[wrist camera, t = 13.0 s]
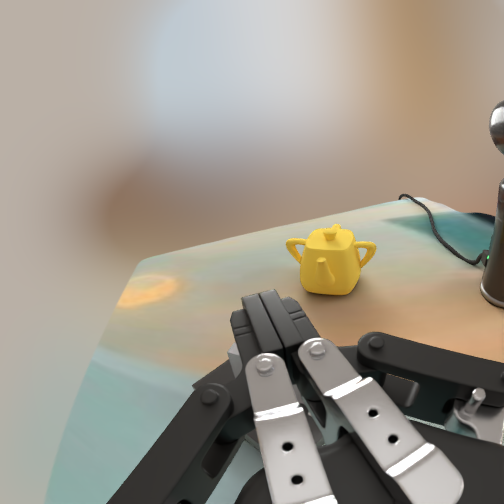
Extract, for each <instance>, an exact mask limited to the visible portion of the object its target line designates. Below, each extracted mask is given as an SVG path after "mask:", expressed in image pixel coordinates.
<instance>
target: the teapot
mask: <svg viewBox="0 0 504 504" xmlns="http://www.w3.org/2000/svg"><path fill="white" fill-rule="evenodd" d="M296 244H300V245H305V247H304V250H303V254H302V257H301V255H300V254H299V253H298V251H297V249H296V247H295V245H296ZM286 247H287V249H288V251H289V252H290V254H291V255H292V256H293V257H294V258H295V259H296V260H297V261H298V262H299V263H300V264H301V266H300V281H301V284H302V286H303V287H304V288H305V290H306V291H308V292H313V293H320V294H330V295H346V294H348V293H350V292H351V291H352V289H353V288H354V287H355V285H356V283H357V281H358V279H359V276H360V272H361V268H362V267H363V266H364V265H365V264H366V263H367V262H368V261H369V260H370V259H371V258H372V257H373V256H374V254H375V252H376V245H375V244H374V243H372V242H356V240H355V237H354V235H353V232H352V231H350V230H346V229H341V226H340V225H339V224H335V225H333V227H332V228H326V229H316V230H314V231H313V232H312V233H311V234H310V236H309V237H308V239H307V240H306V239H298V238H291V239H289V240H287V242H286ZM358 248H366V249H367V253H366V255H365V256H364V258H363V259H362V261H361V262H360V255H359V250H358Z"/></svg>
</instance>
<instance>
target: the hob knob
mask: <svg viewBox="0 0 504 504" xmlns="http://www.w3.org/2000/svg"><path fill="white" fill-rule="evenodd" d="M227 354H228V357H229V360H230V363H231V367H232V370H233V373H234V376H235V378H236V377H237V376H238V375H239V374H240V372H241V370H242V362H241V359H240V355H239V352H238V349H237V345H236V343H235V342H234V343H233V345H232V346H231V348H230V349H229V350H228V352H227ZM292 386H293V389H294V392H295V395H296V398H297V401H298V403H302V404H304V402H303V401H302V399H301V394H300V392H299V390H298V388H297V385H296V384H295V385H292Z"/></svg>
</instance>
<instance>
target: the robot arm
mask: <svg viewBox="0 0 504 504" xmlns="http://www.w3.org/2000/svg"><path fill="white" fill-rule="evenodd" d="M489 129H490V135H491V137H492V140H493V142H494V144H495V146H496V147H497V148H498V150H499V151H500V152H501V153H502V154H504V101H501V102H500V103H498V104H497V105H496V106H495V108H494V109H493V111H492V113H491V116H490V121H489ZM403 196H405V197H408V198H409V199H411V200H412V201H414V202H415V203H417V204H419V205H420V206H422V207H423V208H424V209H425V210H426V211H427V213H428V215H429V218H430V222H431V226H432V230H433V232H434V234H435V235H436V237H437V238H438V240H439V241H440V242H441V243H442V244H443V245H444V246H445V247H446V248H448V249H449V250H450V251H451V252H452V253H453V254H454V255H456V256H457V257H458V258H460V259H462V260H464V261H466V262H467V263H469V264H472V265H476V264H478V263H479V262H480V260H481V261H482V263H483V265H484V266H485V269H484V273H483V277H482V282H481V286H480V290H481V293H482V295H483V296H484V297H485V298H486V299H487V300H488V301H489V302H490V303H492V304H494V305H496V306H498V307H502V308H504V179H503V180H501V182H500V185H499V193H498V203H497V211H496V219H495V225H494V231H493V235H492V237H491V242H490V247H489V250H483V253H481V254H480V255H479V256H478V257H477V259H476V260H468V259H466V258H464V257H463V256H461V255H460V254H459V253H458V252H457V251H456V250H454V249H453V248H452V247H451V246H450V245H448V244H447V243H446V242H445V241H444V240H443V239H442V238H441V237H440V235H439V234H438V232H437V231H436V229H435V226H434V221H433V219H432V215H431V212H430V211H429V209H428V208H427V207H426V206H425V205H424V204H422V203H421V202H419V201H417V200H415V199H414V198H413V197H411V196H409V195H407V194H401V195H400V196H399V199H398V200H401V198H402V197H403ZM241 300H242V305H243V309H241V310H237V311H233V312H232V315H231V319H230V322H231V326H232V330H233V334H234V338H235V341H236V345H237V349H238V352H239V355H240V359H241V362H242V370H241V372H240V374H239V375H238V376H237V377H236V378H235V379H234V380H232V381H231V382H229V383H227V384H225V385H221V384H217V383H208V384H204V385H202V386H200V387H198V388H197V389H196V390H194V392H193V393H192V394H191V395H190V397H189V398H188V400H187V401H186V402H185V404H184V405H183V406H182V408H181V409H180V410H179V412H178V413H177V414H176V416H175V417H174V418H173V420H172V421H171V422H170V424H169V425H168V426H167V428H166V429H165V430H164V432H163V433H162V434H161V435H160V437H159V438H158V439H157V441H156V442H155V443H154V445H153V446H152V447H151V448H150V450H149V451H148V452H147V454H146V455H145V456H144V457H143V459H142V460H141V461H140V463H139V464H138V465H137V466H136V468H135V469H134V470H133V471H132V473H131V474H130V475H129V476H128V478H127V479H126V480H125V481H124V483H123V484H122V485H121V486H120V488H119V489H118V490H117V491H116V493H115V494H114V495H113V496H112V497H111V499H110V500H109V501H108V502H107V503H106V504H205V503H206V501H207V500H208V498H209V497H210V495H211V494H212V492H213V490H214V489H215V487H216V486H217V484H218V483H219V481H220V479H221V478H222V476H223V474H224V473H225V471H226V470H227V468H228V466H229V465H230V463H231V461H232V459H233V458H234V456H235V454H236V453H237V451H238V449H239V447H240V446H241V444H242V442H243V440H244V438H245V435H246V434H247V433H249V432H251V431H252V430H254V429H256V432H257V436H258V441H259V446H260V450H261V455H262V460H263V464H264V468H262V469H261V470H259V471H258V472H257V473H256V474H254V475H253V476H252V477H251V478H250V479H249V480H248V481H247V483H246V484H245V485H244V487H243V488H242V490H241V492H240V494H239V496H238V498H237V499H236V501H235V503H234V504H504V446H503V445H501V444H502V438H503V433H504V363H501V362H496V361H492V360H487V359H483V358H478V357H474V356H470V355H466V354H462V353H457V352H453V351H449V350H445V349H441V348H437V347H433V346H429V345H425V344H422V343H418V342H414V341H410V340H407V339H403V338H399V337H395V336H392V335H388V334H385V333H381V332H370V333H367V334H365V335H363V336H362V337H361V338H360V339H359V341H358V345H354V346H345V347H337V346H335V344H334V343H333V342H331V341H330V340H327V339H324V338H321V337H320V336H319V334H318V332H317V331H316V329H315V328H314V326H313V325H312V323H311V322H310V320H309V319H308V317H307V316H306V314H305V312H304V311H303V310H302V308H301V306H300V305H299V303H298V302H297V301H295V300H294V299H292V298H290V297H286V298H282V299H280V297H279V295H278V293H277V292H276V290H275V289H272V290H269V291H265V292H261V293H258V294H253V295H249V296H246V297H242V298H241ZM389 374H391V375H389ZM393 375H394V376H393ZM396 376H397V377H396ZM399 377H401V378H399ZM403 378H404V379H403ZM406 379H408V380H406ZM410 380H411V381H410ZM413 381H414V382H413ZM295 384H296V385H297V388H298V390H299V392H300V394H301V399H302V401H303V402H304V404H305V406H306V408H307V409H308V411H309V413H310V414H311V416H312V418H313V419H314V421H315V423H316V425H317V426H318V428H319V430H320V431H321V433H322V436H323V439H324V443H325V445H323V446H316V444H315V441H314V438H313V435H312V433H311V430H310V427H309V424H308V421H307V418H306V415H305V413H304V410H303V408H302V406H300V405H299V403H298V401H297V398H296V395H295V392H294V389H293V386H292V385H295ZM405 415H407V416H410V417H413V418H417V419H420V420H424V421H428V422H431V423H435V424H439V425H443V426H444V427H445V430H443V429H440V428H436V427H433V426H430V425H426V424H423V423H420V422H417V421H413V420H408V419H407V418H406V416H405Z"/></svg>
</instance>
